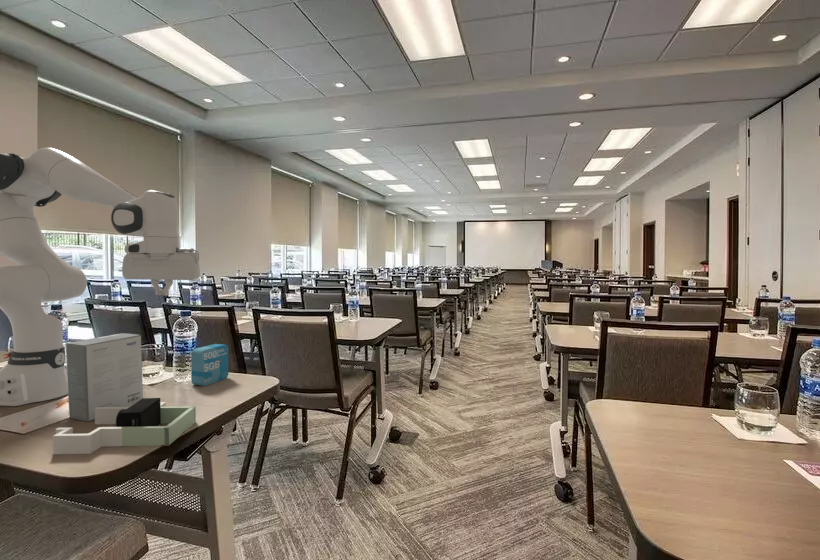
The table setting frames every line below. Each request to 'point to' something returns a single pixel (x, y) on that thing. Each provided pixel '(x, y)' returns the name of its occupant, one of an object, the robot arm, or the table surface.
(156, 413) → the digital camera
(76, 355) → the hard drive box
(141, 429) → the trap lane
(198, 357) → the data package
